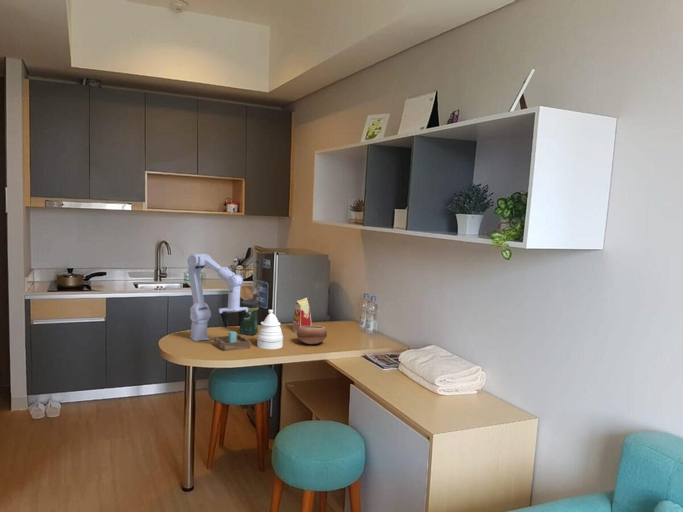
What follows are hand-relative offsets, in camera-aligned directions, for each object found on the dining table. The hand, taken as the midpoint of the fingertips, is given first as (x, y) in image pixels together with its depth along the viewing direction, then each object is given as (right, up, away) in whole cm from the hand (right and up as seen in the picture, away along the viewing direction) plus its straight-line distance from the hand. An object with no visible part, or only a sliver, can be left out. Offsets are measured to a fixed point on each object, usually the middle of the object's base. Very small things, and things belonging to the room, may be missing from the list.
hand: (232, 326), depth 262 cm
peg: (-1, -10, +1) cm, 10 cm away
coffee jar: (+3, -8, +28) cm, 29 cm away
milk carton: (+31, -9, +40) cm, 51 cm away
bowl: (+38, -11, +15) cm, 42 cm away
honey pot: (+18, -11, +6) cm, 22 cm away
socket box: (-1, -10, +1) cm, 10 cm away
